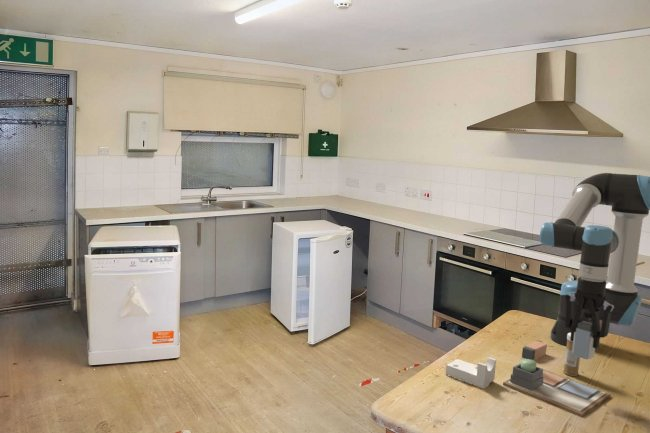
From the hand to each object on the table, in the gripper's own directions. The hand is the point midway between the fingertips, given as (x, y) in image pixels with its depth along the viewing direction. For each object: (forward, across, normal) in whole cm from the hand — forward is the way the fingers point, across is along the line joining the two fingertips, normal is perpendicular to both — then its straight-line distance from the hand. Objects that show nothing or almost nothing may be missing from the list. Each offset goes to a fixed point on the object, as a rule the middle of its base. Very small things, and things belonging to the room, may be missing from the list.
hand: (582, 354), depth 162 cm
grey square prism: (0, 0, 0) cm, 0 cm away
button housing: (+12, -12, -9) cm, 19 cm away
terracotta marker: (+10, -23, +22) cm, 33 cm away
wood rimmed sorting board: (+12, -5, -4) cm, 14 cm away
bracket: (+13, -26, -18) cm, 34 cm away
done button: (+7, -12, -9) cm, 17 cm away
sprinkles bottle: (+12, -8, +12) cm, 19 cm away
